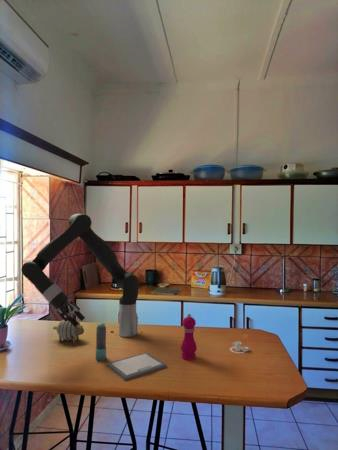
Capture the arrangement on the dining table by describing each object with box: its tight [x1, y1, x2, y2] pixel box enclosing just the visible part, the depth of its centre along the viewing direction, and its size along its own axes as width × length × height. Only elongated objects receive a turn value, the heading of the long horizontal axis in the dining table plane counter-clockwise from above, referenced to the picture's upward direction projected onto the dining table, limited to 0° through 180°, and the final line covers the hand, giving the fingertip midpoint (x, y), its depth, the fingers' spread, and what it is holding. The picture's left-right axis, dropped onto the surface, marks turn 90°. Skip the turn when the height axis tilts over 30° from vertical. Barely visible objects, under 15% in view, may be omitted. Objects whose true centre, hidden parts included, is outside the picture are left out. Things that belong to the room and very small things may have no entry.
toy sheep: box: [52, 319, 85, 344], centre depth 165 cm, size 11×17×11 cm, turn 84°
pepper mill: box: [180, 313, 198, 361], centre depth 146 cm, size 7×7×20 cm
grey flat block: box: [106, 351, 168, 382], centre depth 136 cm, size 20×16×2 cm
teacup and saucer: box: [229, 341, 250, 354], centre depth 155 cm, size 9×8×4 cm
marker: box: [95, 322, 107, 362], centre depth 143 cm, size 5×5×16 cm
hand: (80, 322), depth 144 cm, fingers open, 8 cm apart
